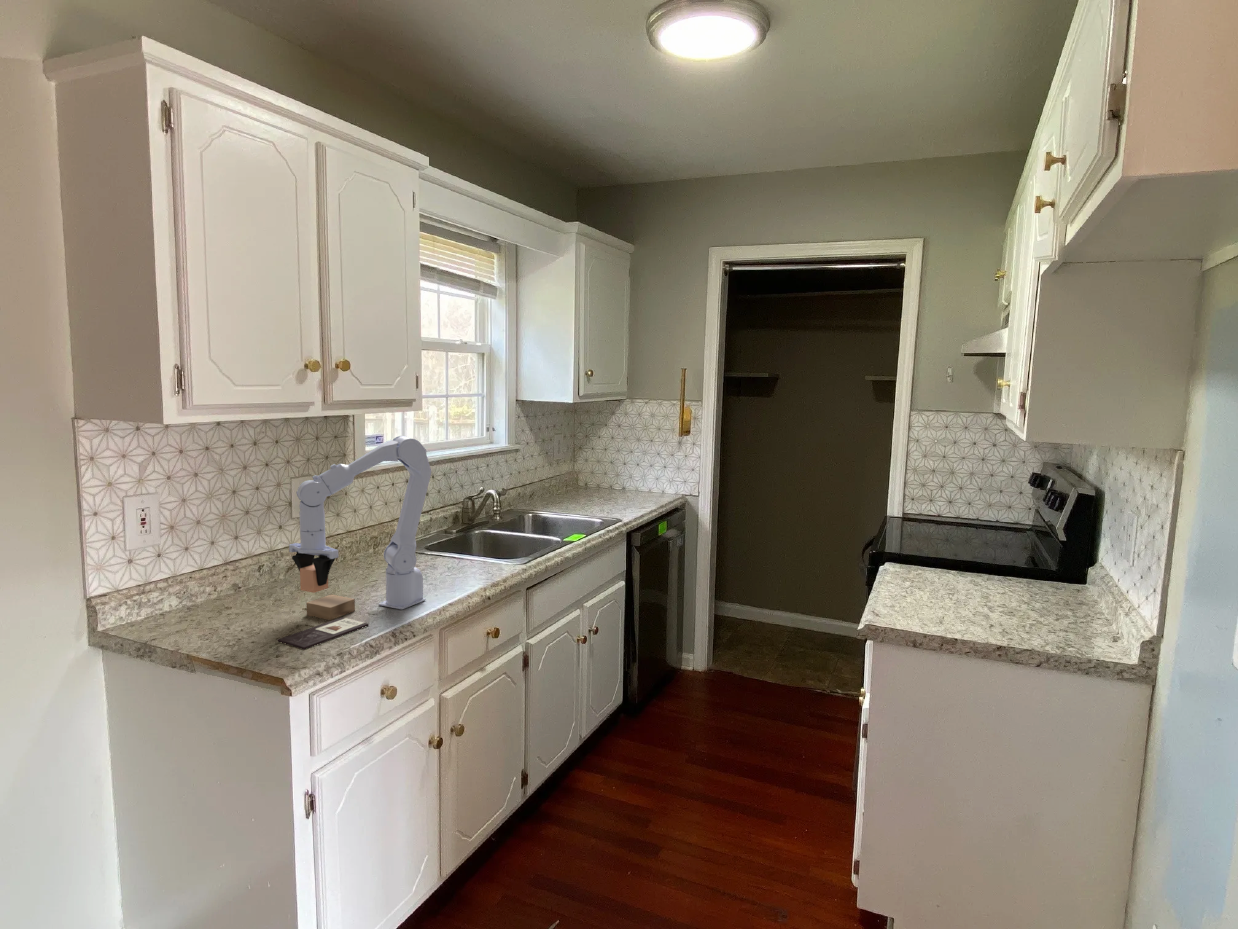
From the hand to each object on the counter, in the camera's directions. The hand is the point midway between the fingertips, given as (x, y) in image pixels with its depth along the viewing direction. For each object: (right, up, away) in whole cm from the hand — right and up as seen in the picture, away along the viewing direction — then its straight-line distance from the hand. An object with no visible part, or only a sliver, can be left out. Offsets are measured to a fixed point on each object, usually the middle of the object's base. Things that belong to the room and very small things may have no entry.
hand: (314, 583), depth 181 cm
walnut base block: (+3, -8, +3) cm, 9 cm away
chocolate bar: (+7, -11, -11) cm, 17 cm away
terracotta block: (0, -1, 0) cm, 1 cm away
